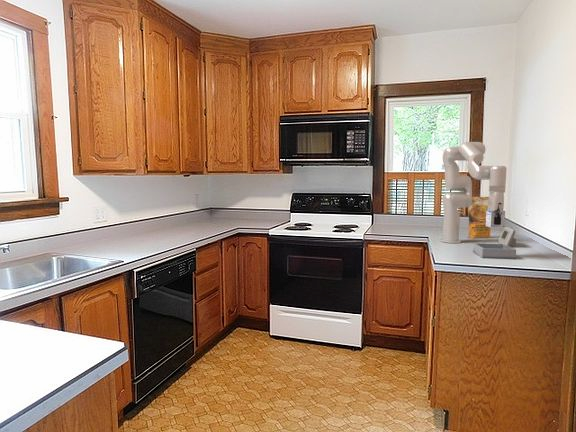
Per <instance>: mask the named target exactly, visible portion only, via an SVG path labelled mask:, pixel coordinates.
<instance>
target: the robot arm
mask: <svg viewBox="0 0 576 432" xmlns="http://www.w3.org/2000/svg"><path fill="white" fill-rule="evenodd" d="M486 150H487V149H486V145H485V143H483V142H481V141H465V142H462V143H461V144H460V145H459V146H449V147H446V148H445V149H444V151H443V153H442V162H443V167H444V186H445V190H448V191H452V192H447V193H445V194H443V196H442V205H443V219H442V220H443V223H442V224H443V225H442V238H440V239H439V241H440V242H441V243H447V244H448V243H449V244H459V243H460V244H461V243H462V239H460V220H461V219H460V218H461V214H460V211H459V210H458V208H468V207H469V206H470V205H471V203H472V197H473V182H472V179H471V177H472V178H473V179H474V180H479V181H480V180H483V181H484V180H488V182H489V186H488V192H489V193H488V197H489V200H488V210H491V211H495V217H494V225H501V216H502V215H501V214H502V212H503V211H504V207H505V193H506V184H507V171H508V170H507V169H508V168H507V167H506V166H505V165H480V164H481V163H482V162H483V161H484V158H485V157H484V154H486ZM456 161H463V162H464V161H466V162H467V164H466V168H467V170H466V171H467V172H468V174H469V175H470V176H471V177H470V176H468V175H464V174H463V175H461V174H460V167H459V164H458V163H457V162H456ZM453 191H454V192H453ZM456 191H457V192H456ZM458 191H460V192H458ZM496 210H498V211H496ZM497 212H498V213H497Z"/></svg>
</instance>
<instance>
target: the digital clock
mask: <svg viewBox="0 0 576 432" xmlns="http://www.w3.org/2000/svg"><path fill="white" fill-rule="evenodd" d="M515 234H516V230H515V229H513V228H511V227H508V226H504V227H503V230H502V232H501V234H500V237H499V238H498V244H505V245H507V246H510V247H512V248H516V247H517V239H516V238H515Z"/></svg>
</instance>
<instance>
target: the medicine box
mask: <svg viewBox="0 0 576 432" xmlns="http://www.w3.org/2000/svg"><path fill="white" fill-rule="evenodd" d="M496 211H498V210H496ZM497 213H498V212H497ZM501 215H502V216H501V225H494V217H495V211H491V210H487V211H486V227H491V228H505V224H506V223H505V221H506V210H503V212H502V214H501Z"/></svg>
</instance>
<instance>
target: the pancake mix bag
mask: <svg viewBox="0 0 576 432" xmlns="http://www.w3.org/2000/svg"><path fill="white" fill-rule="evenodd" d="M488 200H489V196H472V203H471V205H470V206H469V207H467V215H468V230H469V231H468V232H469V233H468V234H467V238H468V239H469V238H470V239H489V238H491V229H492V227H486V211H487V210H488Z"/></svg>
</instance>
